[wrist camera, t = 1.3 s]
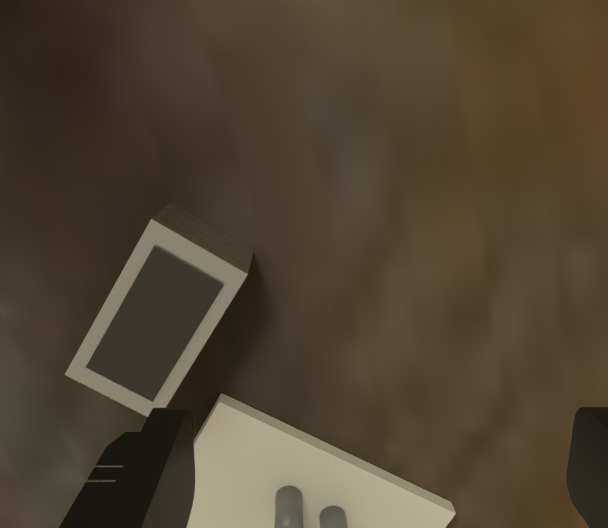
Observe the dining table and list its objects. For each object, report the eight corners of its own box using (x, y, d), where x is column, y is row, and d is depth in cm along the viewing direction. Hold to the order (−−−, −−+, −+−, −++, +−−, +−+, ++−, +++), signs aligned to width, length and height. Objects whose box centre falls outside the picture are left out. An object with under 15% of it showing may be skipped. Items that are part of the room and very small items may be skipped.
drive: (95, 337, 31) (63, 376, 27) (171, 202, 29) (150, 219, 25) (174, 379, 32) (156, 424, 27) (253, 250, 30) (247, 275, 25)
